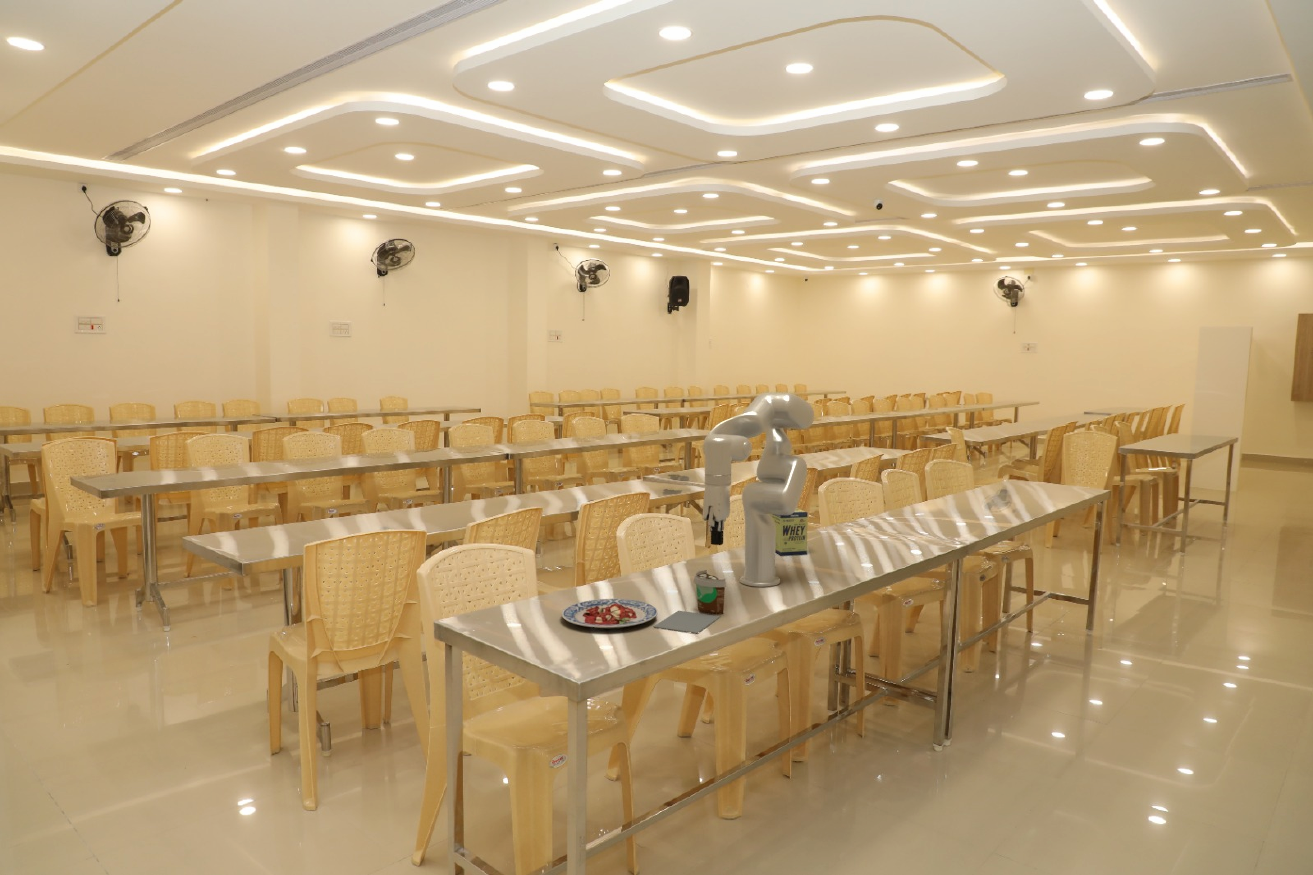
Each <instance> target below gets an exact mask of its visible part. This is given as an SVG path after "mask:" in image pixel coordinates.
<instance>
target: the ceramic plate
mask: <svg viewBox="0 0 1313 875" xmlns="http://www.w3.org/2000/svg"><path fill="white" fill-rule="evenodd" d="M658 612H659V611H658V609H657V607H656V606H654V605H652V604H650V603H647V602H644V601H639V600H635V599H628V598H600V599H599V598H598V599H591V600H585V601H581V602H576V603H574V604H571V605H569V606H567V607H566V608H564V609H563V610H562V612H561V617H562V618H563V619H564V620H566V621H567V622H568V623H571V624H573V625H578V626H582V627H587V628H588V627H589V628H593V627H594V628H593V629H607V630H608V629H613V630H614V629H623V628H627V627H632V626H636V625H640V624H641V625H642V624H644V623H647V622H649V621H651V620H653V619H655V618H656V616H657V615H658Z"/></svg>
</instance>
